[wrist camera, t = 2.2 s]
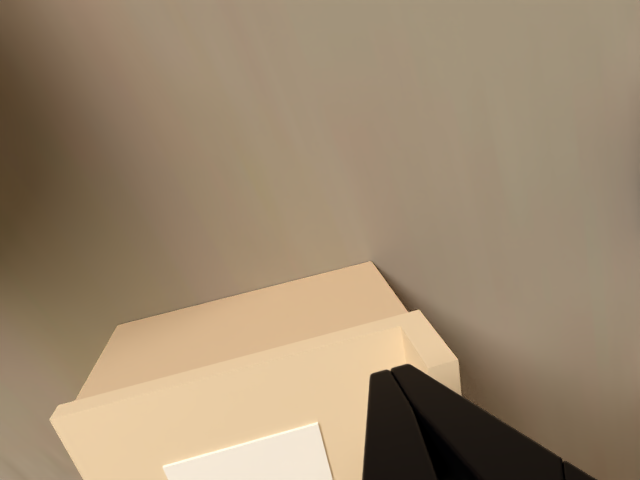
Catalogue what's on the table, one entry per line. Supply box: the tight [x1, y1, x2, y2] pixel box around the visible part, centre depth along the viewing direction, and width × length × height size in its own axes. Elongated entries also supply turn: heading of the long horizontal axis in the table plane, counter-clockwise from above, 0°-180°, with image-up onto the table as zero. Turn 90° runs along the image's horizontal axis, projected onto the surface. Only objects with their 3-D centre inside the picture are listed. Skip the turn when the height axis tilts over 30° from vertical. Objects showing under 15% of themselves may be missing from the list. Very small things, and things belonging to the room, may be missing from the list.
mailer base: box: [75, 261, 408, 401], centre depth 20 cm, size 13×10×6 cm
